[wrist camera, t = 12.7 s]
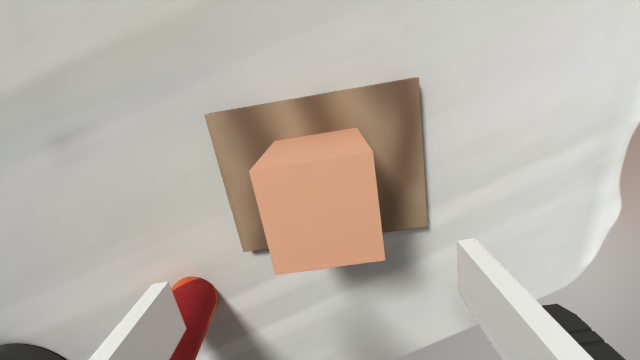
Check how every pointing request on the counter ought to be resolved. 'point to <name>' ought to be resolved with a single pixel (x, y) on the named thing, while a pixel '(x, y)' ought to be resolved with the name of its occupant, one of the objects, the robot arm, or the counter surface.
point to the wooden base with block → (321, 117)
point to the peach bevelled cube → (319, 202)
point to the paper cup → (193, 314)
